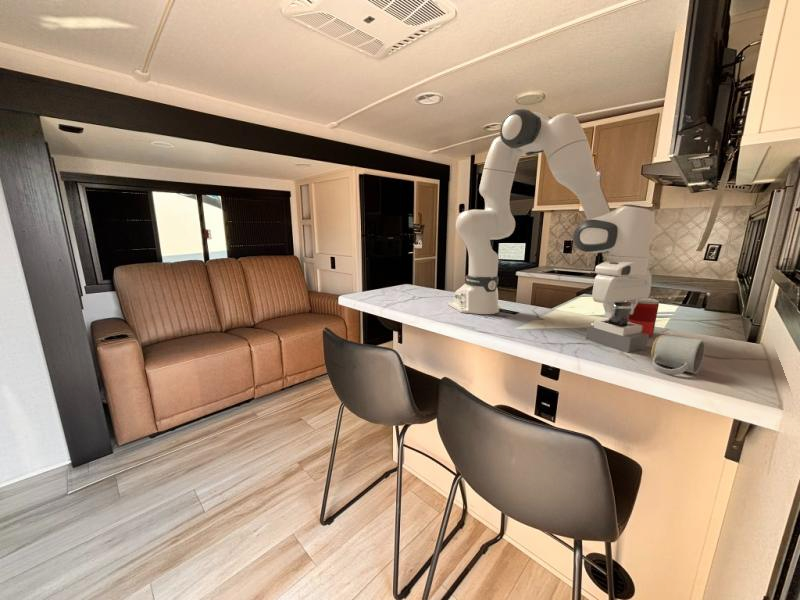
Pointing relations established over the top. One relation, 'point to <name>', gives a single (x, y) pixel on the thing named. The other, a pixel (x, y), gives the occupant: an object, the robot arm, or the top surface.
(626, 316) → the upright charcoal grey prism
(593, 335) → the grey tissue box
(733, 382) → the top surface
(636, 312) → the canned food
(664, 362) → the ceramic mug
